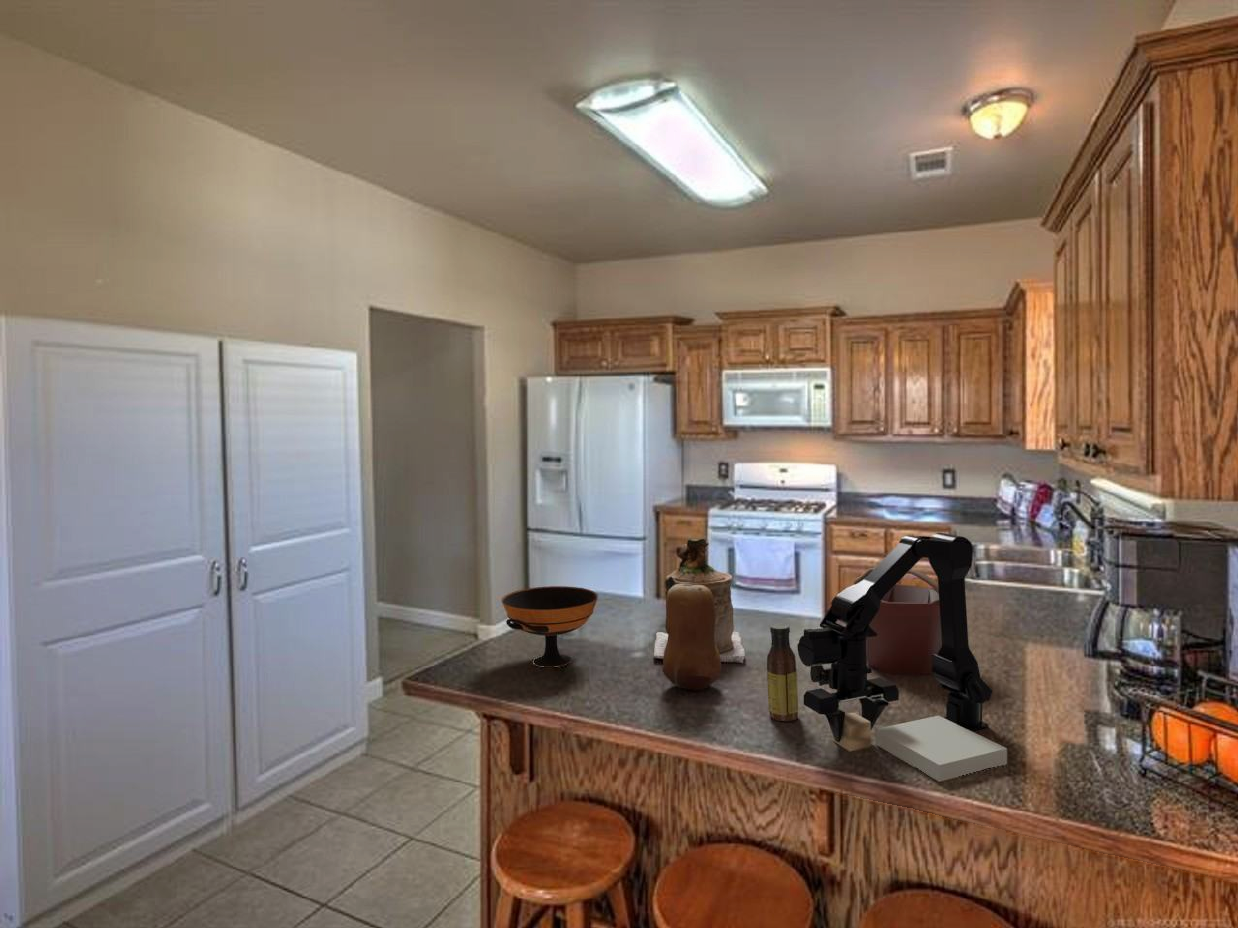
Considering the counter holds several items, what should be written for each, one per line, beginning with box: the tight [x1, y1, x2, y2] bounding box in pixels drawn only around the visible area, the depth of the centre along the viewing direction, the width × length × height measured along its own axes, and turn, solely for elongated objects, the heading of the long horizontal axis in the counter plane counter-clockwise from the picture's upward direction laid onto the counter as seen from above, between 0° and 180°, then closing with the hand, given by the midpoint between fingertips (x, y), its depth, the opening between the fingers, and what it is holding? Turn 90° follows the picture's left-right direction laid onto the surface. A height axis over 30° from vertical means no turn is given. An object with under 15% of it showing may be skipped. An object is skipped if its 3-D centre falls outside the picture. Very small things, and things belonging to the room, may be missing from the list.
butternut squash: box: [662, 583, 722, 692], centre depth 170 cm, size 14×13×25 cm
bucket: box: [853, 566, 942, 677], centre depth 184 cm, size 24×22×25 cm
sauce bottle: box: [766, 623, 799, 723], centre depth 152 cm, size 7×6×20 cm
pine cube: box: [832, 712, 872, 752], centre depth 139 cm, size 5×5×5 cm
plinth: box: [874, 715, 1008, 783], centre depth 134 cm, size 16×16×3 cm
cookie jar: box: [653, 537, 746, 664], centre depth 198 cm, size 25×25×32 cm
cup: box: [501, 585, 599, 667], centre depth 190 cm, size 36×26×18 cm
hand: (851, 738), depth 139 cm, fingers open, 6 cm apart
